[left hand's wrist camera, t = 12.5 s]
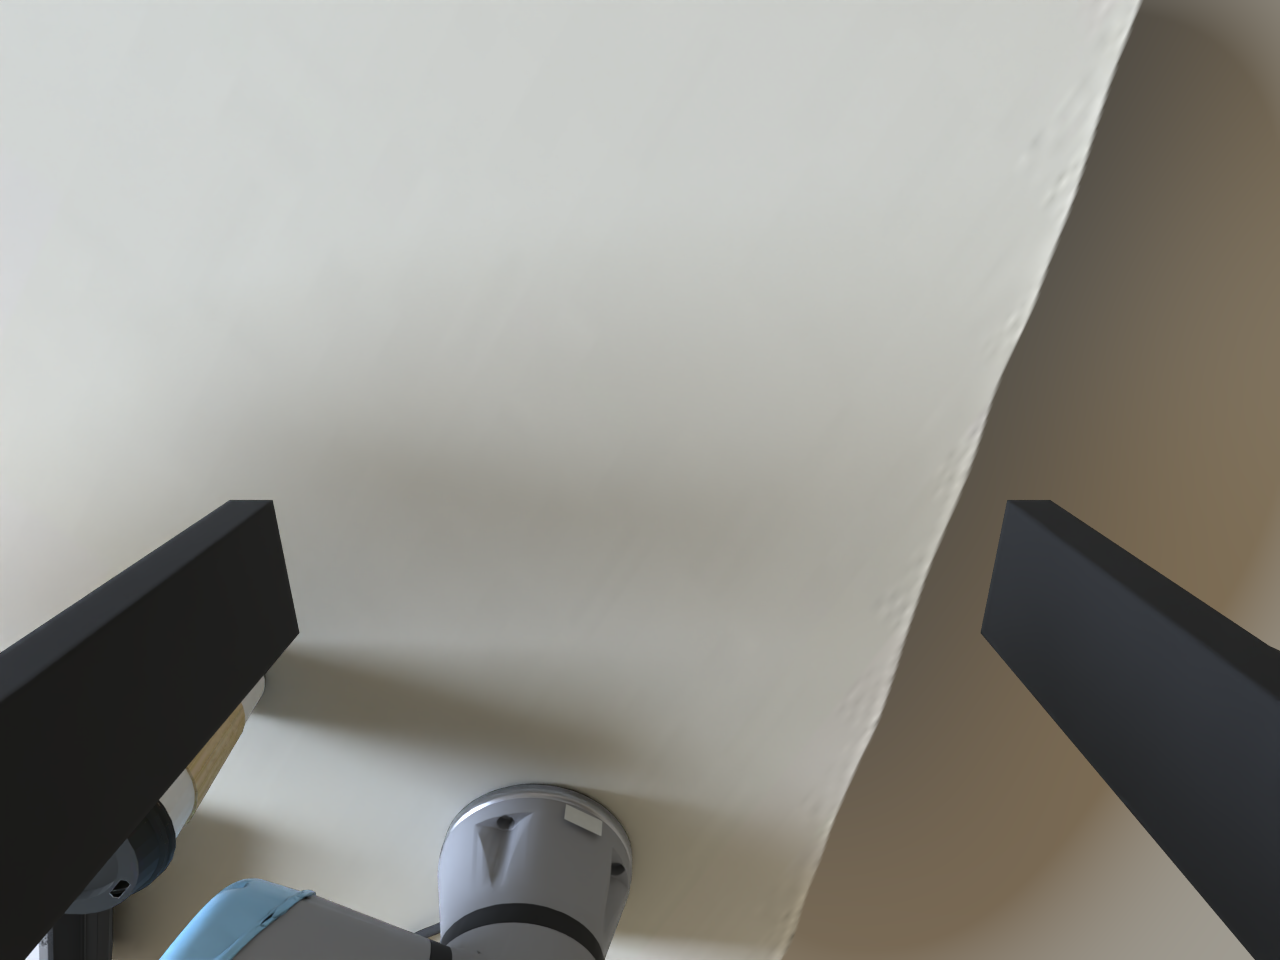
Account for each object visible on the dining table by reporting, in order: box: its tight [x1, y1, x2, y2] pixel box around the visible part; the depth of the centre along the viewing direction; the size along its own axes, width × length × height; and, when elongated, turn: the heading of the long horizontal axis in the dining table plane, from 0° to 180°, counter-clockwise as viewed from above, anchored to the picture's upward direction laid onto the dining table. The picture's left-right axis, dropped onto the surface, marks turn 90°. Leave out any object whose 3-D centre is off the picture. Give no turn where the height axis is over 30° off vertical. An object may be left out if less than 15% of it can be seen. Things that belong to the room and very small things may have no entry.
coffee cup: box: [65, 676, 265, 914], centre depth 42 cm, size 10×10×15 cm
